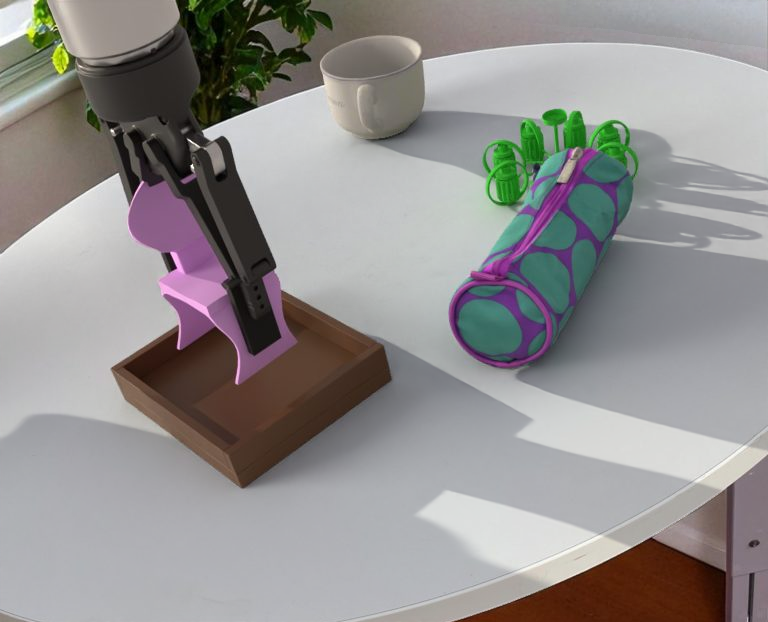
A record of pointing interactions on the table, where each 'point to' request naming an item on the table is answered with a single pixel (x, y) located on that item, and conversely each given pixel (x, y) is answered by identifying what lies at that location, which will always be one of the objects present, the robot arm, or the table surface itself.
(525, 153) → the chandelier
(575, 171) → the pencil case
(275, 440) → the brown wooden tray
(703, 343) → the table surface
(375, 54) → the teacup
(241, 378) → the toy chair
